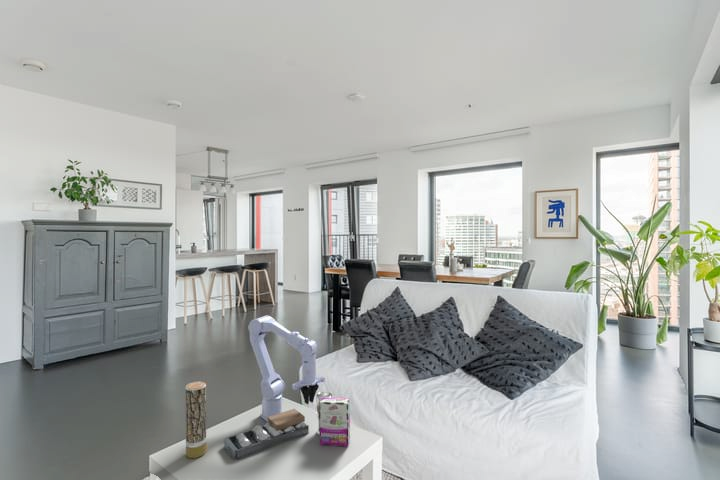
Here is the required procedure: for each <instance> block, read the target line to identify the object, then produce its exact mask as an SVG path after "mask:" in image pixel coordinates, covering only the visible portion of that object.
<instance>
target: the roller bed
mask: <svg viewBox="0 0 720 480" xmlns="http://www.w3.org/2000/svg"><path fill="white" fill-rule="evenodd" d="M309 427H310V426H309V425H308V424H306V423H305V421H304V422H301V423H298V424H296V425H293V426H290V427H287V428H284V429H281V430H278V431H277V430H276V429H275V428H274V427H273V426H271V425H270V424H269V423H268V422H267V421H266V423H265V424H263V425H259V424H258V425H255V426H254V427H253V428H251V429H248V430H244V431H242V432H238V433H235V434H233V435H229V436H227V437H226V438H224V439H223V447H224V449H225V451H226V452H227V454H228V455H229V456H230V457H231V459H232V460H240V459H243V458H245V457H247V456H251V455H253V454H256V453H259V452H261V451H264V450H268V449H270V448H272V447H275V446H277V445H281V444H283V443H286V442H288V441H291V440H293V439H296V438H299V437H302V436H304V435H307V434H309V433H310V432H309ZM240 433H243V434H244V435H245V436H246V437H247V438H248V440H250V439H252V438H254V440H255V441H257V442H255V443H252V445H249V446H247V447H244V448H241V449H240V448H237V447H236V446H235V444H236V443H235V437H236V436H237V435H238V434H240Z"/></svg>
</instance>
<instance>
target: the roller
mask: <svg viewBox="0 0 720 480" xmlns="http://www.w3.org/2000/svg"><path fill="white" fill-rule="evenodd" d="M239 433H240V434H239ZM239 433H237V434H238V435H237V436H236V437H235V444H236V445H237V447H238V449H241V448H244V447H247V446H249V445H252V444H253V443H252V442H251V440H250V439H248V438H247V437H246V436H245V435H244V434H243V433H242V432H239Z"/></svg>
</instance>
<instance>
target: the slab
mask: <svg viewBox="0 0 720 480" xmlns="http://www.w3.org/2000/svg"><path fill="white" fill-rule="evenodd" d="M305 418H306V416H305V415H304V414H302V413H301V412H299V410H297V409H296V408H293V409H289V410H286V411H282V413H279V414H276V415H273V416H270V417H268V423H269V424H270V425H271V426H273V427H274V428H275V429H276V430H277V431H278V430H281V429H284V428H287V427H290V426H293V425H296V424H298V423H301V422H304V423H305Z"/></svg>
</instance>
